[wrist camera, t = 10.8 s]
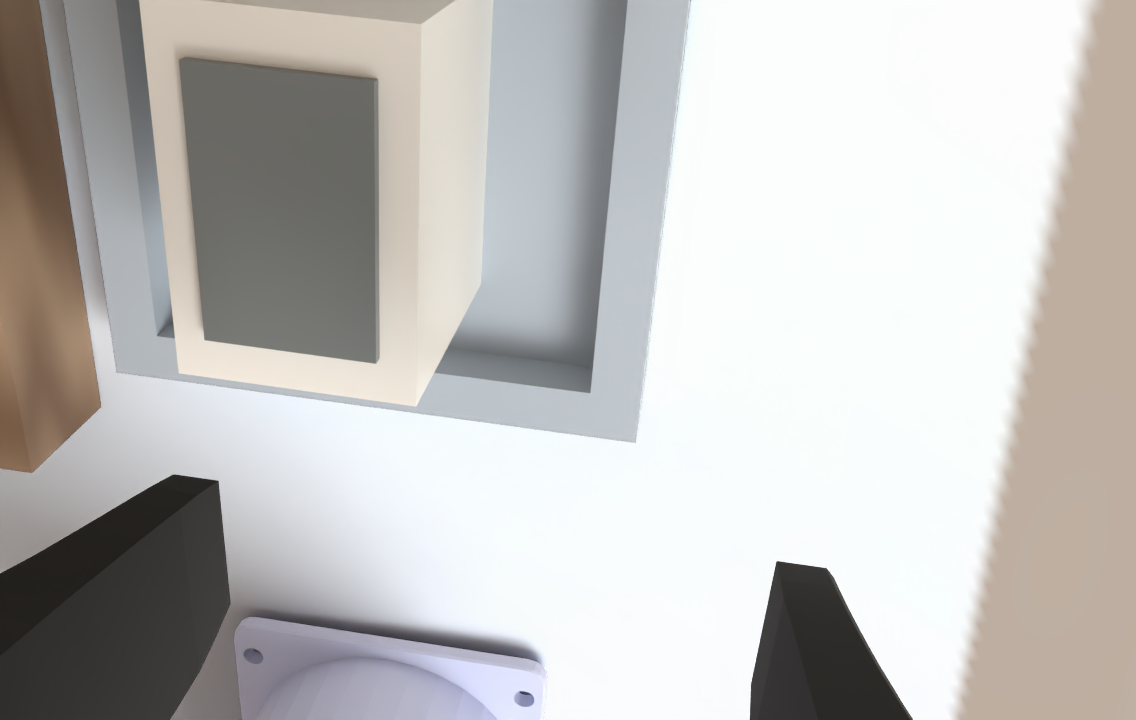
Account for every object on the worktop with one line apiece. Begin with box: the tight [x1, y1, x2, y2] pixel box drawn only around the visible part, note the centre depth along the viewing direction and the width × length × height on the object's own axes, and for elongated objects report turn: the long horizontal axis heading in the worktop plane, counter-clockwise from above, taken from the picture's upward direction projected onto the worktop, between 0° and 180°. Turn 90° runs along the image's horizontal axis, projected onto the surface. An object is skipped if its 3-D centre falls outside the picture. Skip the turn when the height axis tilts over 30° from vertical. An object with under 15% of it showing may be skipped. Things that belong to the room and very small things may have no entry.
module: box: [139, 0, 493, 407], centre depth 18 cm, size 6×4×5 cm, turn 175°
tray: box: [63, 0, 691, 443], centre depth 20 cm, size 11×11×2 cm
